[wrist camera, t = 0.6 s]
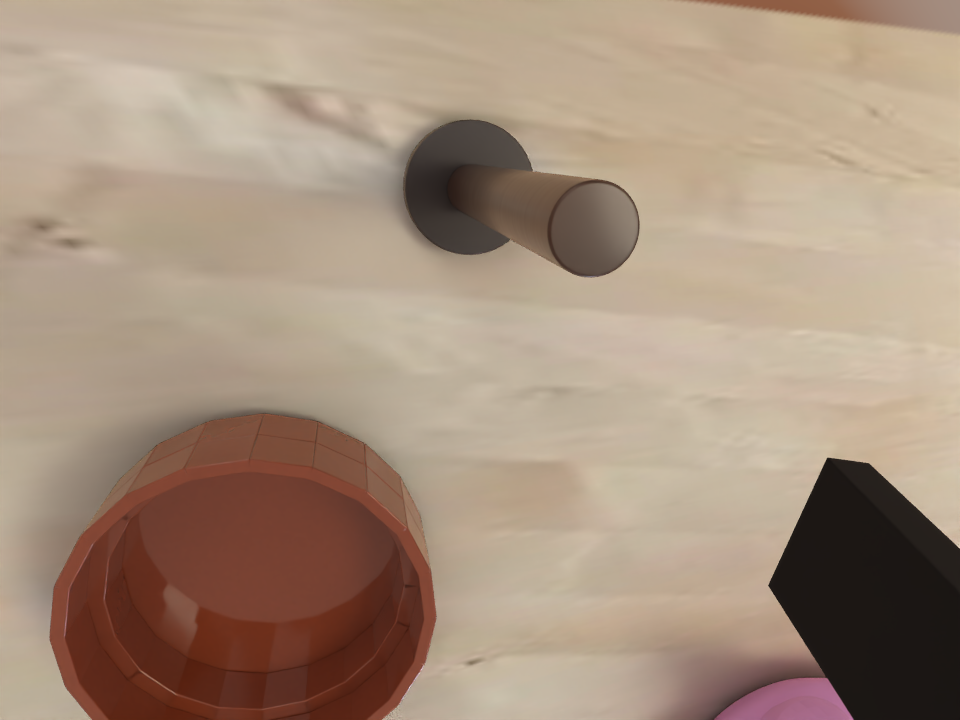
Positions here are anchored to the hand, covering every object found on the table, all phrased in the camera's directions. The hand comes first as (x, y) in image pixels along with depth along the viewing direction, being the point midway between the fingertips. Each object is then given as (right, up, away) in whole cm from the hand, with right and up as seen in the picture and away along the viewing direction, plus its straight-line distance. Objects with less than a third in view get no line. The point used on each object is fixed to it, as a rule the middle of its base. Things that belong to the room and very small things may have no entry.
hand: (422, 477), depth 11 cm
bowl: (-10, -8, +25) cm, 28 cm away
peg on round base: (0, +10, +22) cm, 24 cm away
